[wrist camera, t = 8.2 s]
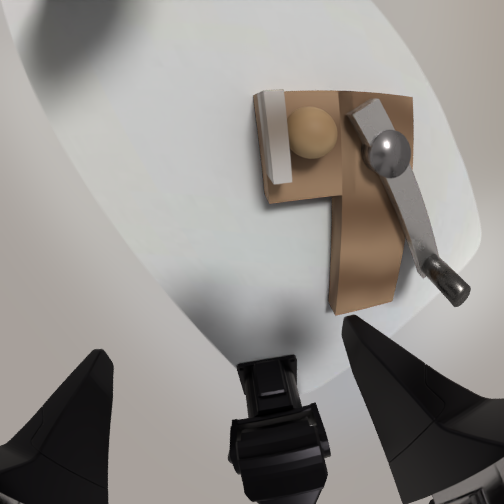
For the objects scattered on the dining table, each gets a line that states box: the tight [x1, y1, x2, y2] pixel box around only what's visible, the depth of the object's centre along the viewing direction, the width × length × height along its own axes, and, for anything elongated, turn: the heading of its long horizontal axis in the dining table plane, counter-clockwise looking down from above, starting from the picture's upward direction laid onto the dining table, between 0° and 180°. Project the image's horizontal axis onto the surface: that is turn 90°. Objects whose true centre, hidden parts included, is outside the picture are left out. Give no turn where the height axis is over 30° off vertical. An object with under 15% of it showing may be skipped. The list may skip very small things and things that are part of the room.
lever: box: [346, 98, 471, 307], centre depth 15 cm, size 16×3×6 cm, turn 37°
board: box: [253, 89, 413, 316], centre depth 18 cm, size 18×11×5 cm, turn 7°
